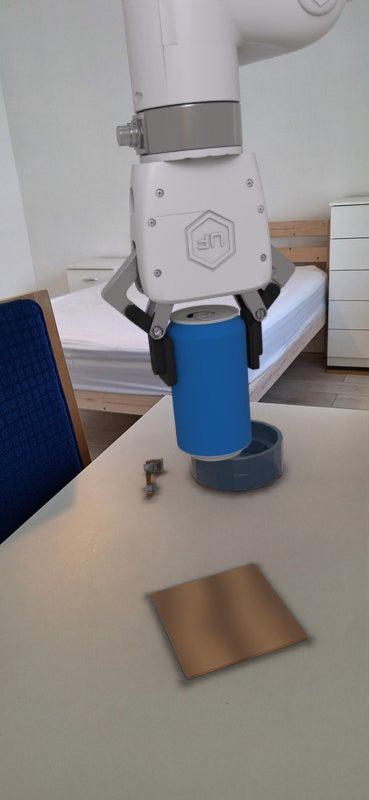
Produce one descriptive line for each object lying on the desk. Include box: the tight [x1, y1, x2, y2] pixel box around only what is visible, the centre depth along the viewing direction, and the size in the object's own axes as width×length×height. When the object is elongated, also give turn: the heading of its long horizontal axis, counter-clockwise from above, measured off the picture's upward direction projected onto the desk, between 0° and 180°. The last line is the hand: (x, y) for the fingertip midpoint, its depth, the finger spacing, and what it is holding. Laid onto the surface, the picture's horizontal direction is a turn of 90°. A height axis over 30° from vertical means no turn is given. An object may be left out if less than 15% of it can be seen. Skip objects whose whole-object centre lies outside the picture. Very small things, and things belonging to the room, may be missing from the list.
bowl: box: [190, 419, 285, 492], centre depth 80 cm, size 12×12×5 cm
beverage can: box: [167, 303, 252, 461], centre depth 50 cm, size 6×6×12 cm
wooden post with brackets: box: [142, 458, 164, 498], centre depth 78 cm, size 2×8×4 cm, turn 175°
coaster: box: [150, 563, 308, 680], centre depth 55 cm, size 11×11×1 cm
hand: (208, 371), depth 49 cm, fingers closed on beverage can, 6 cm apart
